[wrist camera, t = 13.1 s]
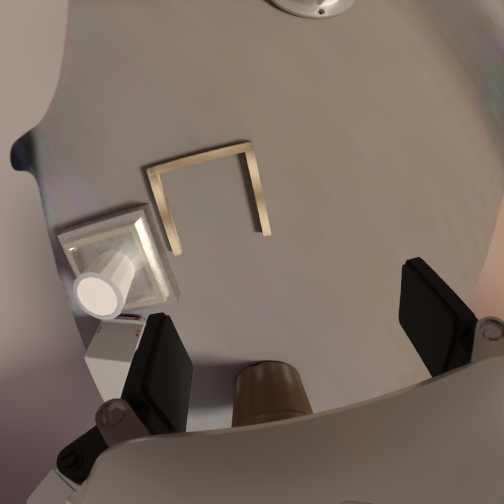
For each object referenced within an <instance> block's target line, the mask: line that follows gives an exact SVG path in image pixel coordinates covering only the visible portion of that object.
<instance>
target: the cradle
mask: <svg viewBox="0 0 504 504" xmlns="http://www.w3.org/2000/svg"><path fill="white" fill-rule="evenodd" d="M243 152H245V154H246V158H247V163H248V167H249V172H250V176H251V181H252V185H253V190H254V194H255V199H256V203H257V208H258V212H259V217H260V222H261V226H262V231H263V236H267V235H271V230H270V226H269V221H268V216H267V211H266V206H265V201H264V197H263V192H262V187H261V182H260V178H259V173H258V168H257V164H256V159H255V154H254V150H253V145H252V141H249V142H244V143H240V144H235V145H231V146H226V147H222V148H218V149H214V150H210V151H206V152H202V153H198V154H194V155H190V156H186V157H183V158H179V159H175V160H172V161H168V162H165V163H161V164H158V165H154V166H151V167H148V168H147V169H146V170H147V174H148V177H149V180H150V183H151V187H152V190H153V193H154V196H155V200H156V203H157V206H158V209H159V212H160V215H161V218H162V221H163V224H164V227H165V230H166V233H167V236H168V239H169V242H170V245H171V248H172V250H173V253H174V256H175V255H180V254H182V251H183V249H182V246H181V243H180V240H179V237H178V234H177V231H176V228H175V225H174V222H173V219H172V216H171V213H170V210H169V206H168V203H167V200H166V197H165V193H164V190H163V187H162V183H161V180H160V177H159V174H160V173H163V172H167V171H170V170H174V169H177V168H181V167H185V166H189V165H192V164H196V163H200V162H204V161H208V160H212V159H216V158H221V157H225V156H229V155H234V154H238V153H243Z"/></svg>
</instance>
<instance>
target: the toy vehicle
mask: <svg viewBox="0 0 504 504" xmlns="http://www.w3.org/2000/svg"><path fill="white" fill-rule="evenodd" d="M145 325H146V323H145V320H144V319H143V318H137V317H122V316H117V317H115V318H114V319H108V320H103V319H101V323H100V325H99V327H98V329H97V331H96V333H95V335H94V337H93V339H92V341H91V343H90V345H89V347H88V349H87V351H86V353H85V356H84V359H85V361H86V363H87V366H88V368H89V370H90V373H91V375H92V377H93V379H94V381H95V384H96V386H97V388H98V390H99V392H100V394H101V396H102V398H103V400H104V402H106V401H108V400H110V399H114V398H121V394H122V391H123V388H124V384H125V381H126V378H127V375H128V371H129V368H130V365H131V362H132V359H133V356H134V353H135V351H136V349H138V346H139V343H140V340H141V337H142V334H143V331H144V328H145Z"/></svg>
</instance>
